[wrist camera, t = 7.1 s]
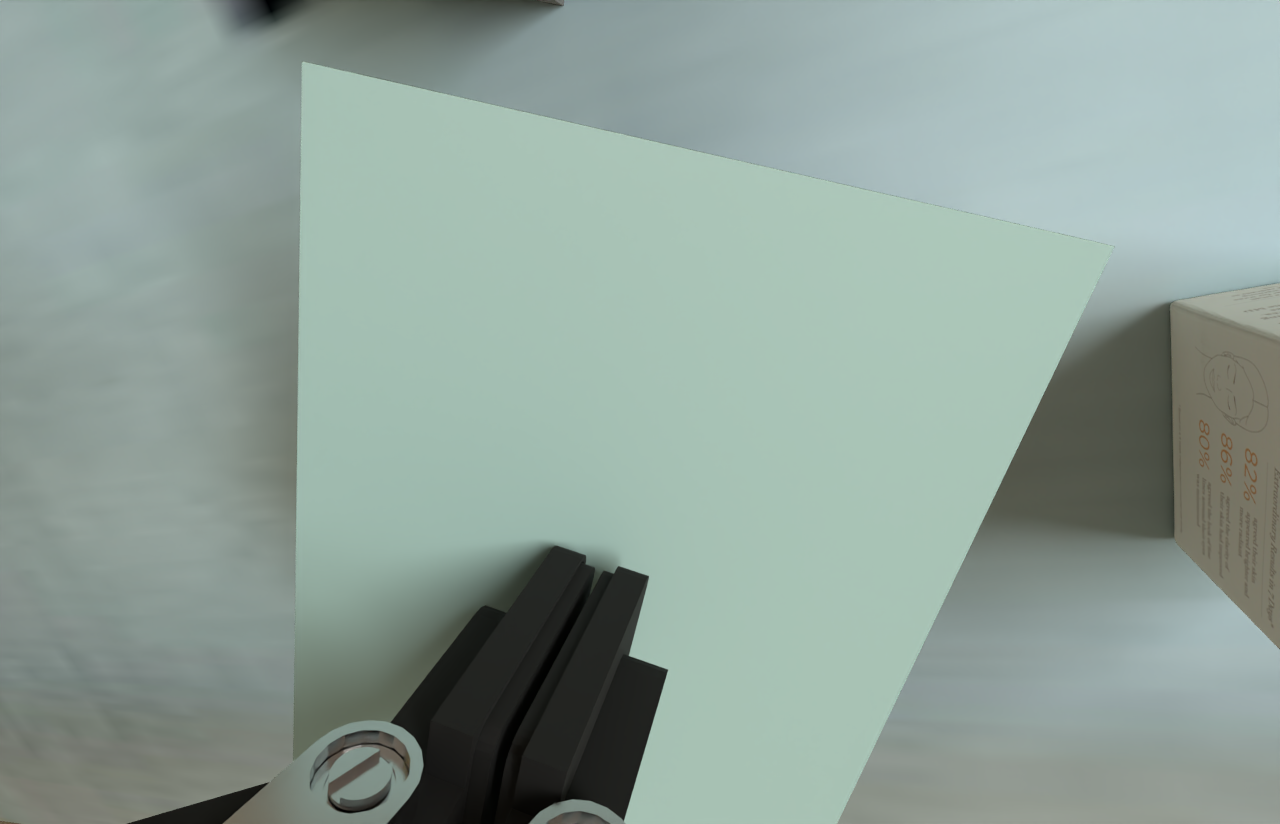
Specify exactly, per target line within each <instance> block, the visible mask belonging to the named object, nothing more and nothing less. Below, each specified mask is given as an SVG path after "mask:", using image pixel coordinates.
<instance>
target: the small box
mask: <svg viewBox="0 0 1280 824" xmlns="http://www.w3.org/2000/svg"><path fill="white" fill-rule="evenodd" d="M1170 319H1171V359H1172V410H1173V468H1174V521H1175V531H1174V537H1175V541H1176V543H1177V544H1178V545H1179V547H1180V548H1181V549H1182V550H1183V551H1184V552H1185V553H1186V554H1187V555H1188V556H1189V557H1190V558H1191V559H1192V560H1193V561H1194V562H1195V563H1196V564H1197V565H1198V566H1199V567H1200V568H1201V569H1202V570H1203V571H1204V572H1205V573H1206V574H1207V575H1208V577H1209V578H1210V579H1211V580H1212V581H1213V582H1214V583H1215V584H1216V585H1217V586H1218V587H1219V588H1220V589H1221V590H1222V591H1223V592H1224V593H1225V594H1226V595H1227V596H1228V597H1229V598H1230V599H1231V600H1232V601H1233V602H1234V603H1235V604H1236V605H1237V606H1238V607H1239V608H1240V609H1241V610H1242V611H1243V612H1244V613H1245V614H1246V615H1247V616H1248V617H1249V618H1250V619H1251V621H1252V622H1253V623H1254V624H1255V625H1256V626H1257V627H1258V628H1259V629H1260V630H1261V631H1262V632H1263V633H1264V634H1265V635H1266V636H1267V637H1268V638H1269V639H1270V640H1271V641H1272V642H1273V643H1274V644H1275V645H1276V646H1277V647H1278V648H1279V649H1280V283H1278V284H1272V285H1266V286H1260V287H1253V288H1247V289H1241V290H1235V291H1229V292H1223V293H1217V294H1211V295H1205V296H1200V297H1194V298H1189V299H1182V300H1177V301H1174V302H1172V303H1171V305H1170Z"/></svg>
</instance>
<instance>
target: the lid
mask: <svg viewBox="0 0 1280 824" xmlns="http://www.w3.org/2000/svg"><path fill="white" fill-rule="evenodd" d="M1114 247H1115V246H1111V245H1107V244H1102V243H1098V242H1094V241H1090V240H1085V239H1081V238H1077V237H1073V236H1068V235H1064V234H1059V233H1055V232H1051V231H1046V230H1042V229H1037V228H1033V227H1029V226H1024V225H1020V224H1016V223H1011V222H1007V221H1002V220H998V219H994V218H989V217H985V216H980V215H976V214H972V213H967V212H963V211H958V210H954V209H950V208H945V207H941V206H936V205H932V204H928V203H923V202H919V201H915V200H910V199H906V198H901V197H897V196H893V195H888V194H884V193H879V192H875V191H871V190H866V189H862V188H857V187H853V186H849V185H844V184H840V183H835V182H831V181H827V180H822V179H818V178H814V177H809V176H805V175H800V174H796V173H792V172H787V171H783V170H778V169H774V168H770V167H765V166H761V165H756V164H752V163H748V162H743V161H739V160H735V159H730V158H726V157H721V156H717V155H713V154H708V153H704V152H699V151H695V150H691V149H686V148H682V147H677V146H673V145H669V144H664V143H660V142H655V141H651V140H647V139H642V138H638V137H634V136H629V135H625V134H620V133H616V132H612V131H607V130H603V129H598V128H594V127H590V126H585V125H581V124H576V123H572V122H568V121H563V120H559V119H554V118H550V117H546V116H541V115H537V114H533V113H528V112H524V111H519V110H515V109H511V108H506V107H502V106H497V105H493V104H489V103H484V102H480V101H475V100H471V99H467V98H462V97H458V96H454V95H449V94H445V93H440V92H436V91H432V90H427V89H423V88H418V87H414V86H410V85H405V84H401V83H396V82H392V81H388V80H383V79H379V78H374V77H370V76H366V75H361V74H357V73H353V72H348V71H344V70H339V69H335V68H331V67H326V66H322V65H317V64H313V63H307V62H302V98H301V178H300V258H299V338H298V418H297V498H296V578H295V658H294V738H293V761H294V760H295V759H297V758H298V757H299V756H300V755H301V754H302V753H303V752H305V751H306V750H307V749H308V748H309V747H310V746H311V745H312V744H314V743H315V742H316V741H317V740H319V739H320V738H322V737H323V736H325V735H326V734H327V733H329V732H330V731H332V730H334V729H337V728H339V727H342V726H344V725H347V724H349V723H354V722H360V721H367V720H374V721H385V722H389V723H390V722H391V721H392V720H393V718H394V717H395V716H396V715H397V713H398V712H399V711H400V709H401V708H402V707H403V706H404V704H405V703H406V702H407V700H408V699H409V698H410V697H411V695H412V694H413V693H414V691H415V690H416V689H417V688H418V686H419V685H420V684H421V682H422V681H423V680H424V679H425V677H426V676H427V675H428V673H429V672H430V671H431V670H432V668H433V667H434V666H435V664H436V663H437V662H438V661H439V659H440V658H441V657H442V655H443V654H444V653H445V652H446V650H447V649H448V648H449V646H450V645H451V644H452V643H453V641H454V640H455V639H456V637H457V636H458V635H459V634H460V632H461V631H462V630H463V629H464V627H465V626H466V625H467V623H468V622H469V621H470V620H471V618H472V617H473V616H474V614H475V613H476V612H477V611H478V610H479V609H480V608H481V607H483V606H485V605H486V606H489V607H492V608H495V609H497V610H500V611H503V612H506V613H507V612H508V610H509V609H510V607H511V606H512V605H513V603H514V602H515V600H516V599H517V597H518V596H519V595H520V593H521V592H522V590H523V589H524V588H525V586H526V585H527V583H528V582H529V580H530V579H531V578H532V576H533V575H534V573H535V572H536V571H537V569H538V568H539V566H540V565H541V564H542V562H543V561H544V559H545V558H546V556H547V555H548V554H549V552H550V551H551V549H552V548H553V547H554V546H556V545H557V546H560V547H563V548H566V549H569V550H572V551H575V552H578V553H581V554H584V555H586V565H589V566H592V567H595V573H594V578H593V583H592V587H591V591H590V594H591V592H592V590H593V589H594V587H595V585H596V583H597V581H598V579H599V577H600V576H601V574H602V572H603V571H607V572H610V573H613V574H614V573H615V571H616V569H617V567H618V566H620V567H623V568H626V569H629V570H632V571H635V572H638V573H641V574H644V575H647V576H649V580H648V584H647V588H646V592H645V596H644V600H643V604H642V607H641V611H640V615H639V619H638V623H637V627H636V630H635V634H634V638H633V642H632V646H631V649H630V653H629V656H631V657H634V658H637V659H639V660H642V661H645V662H648V663H651V664H654V665H656V666H659V667H662V668H665V669H668V673H667V676H666V680H665V683H664V686H663V690H662V693H661V697H660V700H659V703H658V707H657V710H656V714H655V717H654V720H653V724H652V727H651V731H650V734H649V737H648V741H647V744H646V748H645V751H644V755H643V758H642V761H641V765H640V768H639V772H638V775H637V778H636V782H635V785H634V789H633V792H632V795H631V799H630V802H629V806H628V809H627V813H626V816H625V819H624V822H625V824H837V822H838V820H839V818H840V816H841V814H842V812H843V810H844V808H845V806H846V804H847V802H848V800H849V798H850V795H851V793H852V791H853V789H854V787H855V785H856V783H857V781H858V779H859V777H860V775H861V773H862V771H863V768H864V766H865V764H866V762H867V760H868V758H869V756H870V754H871V752H872V750H873V748H874V746H875V743H876V741H877V739H878V737H879V735H880V733H881V731H882V729H883V727H884V725H885V723H886V721H887V719H888V716H889V714H890V712H891V710H892V708H893V706H894V704H895V702H896V700H897V698H898V696H899V694H900V692H901V689H902V687H903V685H904V683H905V681H906V679H907V677H908V675H909V673H910V671H911V669H912V667H913V664H914V662H915V660H916V658H917V656H918V654H919V652H920V650H921V648H922V646H923V644H924V642H925V640H926V637H927V635H928V633H929V631H930V629H931V627H932V625H933V623H934V621H935V619H936V617H937V615H938V613H939V610H940V608H941V606H942V604H943V602H944V600H945V598H946V596H947V594H948V592H949V590H950V588H951V586H952V583H953V581H954V579H955V577H956V575H957V573H958V571H959V569H960V567H961V565H962V563H963V561H964V558H965V556H966V554H967V552H968V550H969V548H970V546H971V544H972V542H973V540H974V538H975V536H976V534H977V531H978V529H979V527H980V525H981V523H982V521H983V519H984V517H985V515H986V513H987V511H988V509H989V507H990V504H991V502H992V500H993V498H994V496H995V494H996V492H997V490H998V488H999V486H1000V484H1001V482H1002V480H1003V477H1004V475H1005V473H1006V471H1007V469H1008V467H1009V465H1010V463H1011V461H1012V459H1013V457H1014V455H1015V452H1016V450H1017V448H1018V446H1019V444H1020V442H1021V440H1022V438H1023V436H1024V434H1025V432H1026V430H1027V428H1028V425H1029V423H1030V421H1031V419H1032V417H1033V415H1034V413H1035V411H1036V409H1037V407H1038V405H1039V403H1040V401H1041V398H1042V396H1043V394H1044V392H1045V390H1046V388H1047V386H1048V384H1049V382H1050V380H1051V378H1052V376H1053V373H1054V371H1055V369H1056V367H1057V365H1058V363H1059V361H1060V359H1061V357H1062V355H1063V353H1064V351H1065V349H1066V346H1067V344H1068V342H1069V340H1070V338H1071V336H1072V334H1073V332H1074V330H1075V328H1076V326H1077V324H1078V322H1079V319H1080V317H1081V315H1082V313H1083V311H1084V309H1085V307H1086V305H1087V303H1088V301H1089V299H1090V297H1091V295H1092V292H1093V290H1094V288H1095V286H1096V284H1097V282H1098V280H1099V278H1100V276H1101V274H1102V272H1103V270H1104V267H1105V265H1106V263H1107V261H1108V259H1109V257H1110V255H1111V253H1112V251H1113V249H1114Z"/></svg>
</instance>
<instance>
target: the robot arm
mask: <svg viewBox="0 0 1280 824" xmlns="http://www.w3.org/2000/svg"><path fill="white" fill-rule="evenodd" d="M594 573H595V567H592V566H589V565H586V555H584V554H581V553H578V552H575V551H572V550H569V549H566V548H563V547H560V546H557V545H556V546H554V547H553V548H552V549H551V551H550V552H549V554H548V555H547V556H546V558H545V559H544V561H543V562H542V564H541V565H540V566H539V568H538V569H537V571H536V572H535V573H534V575H533V576H532V578H531V579H530V580H529V582H528V583H527V585H526V586H525V588H524V589H523V590H522V592H521V593H520V595H519V596H518V597H517V599H516V600H515V602H514V603H513V605H512V606H511V607H510V609H509V610H508V612H507V613H506V612H503V611H500V610H497V609H495V608H492V607H489V606H486V605H485V606H483V607H481V608H480V609H479V610H478V611H477V612H476V613H475V614H474V616H473V617H472V618H471V620H470V621H469V622H468V623H467V625H466V626H465V627H464V629H463V630H462V631H461V632H460V634H459V635H458V636H457V637H456V639H455V640H454V641H453V643H452V644H451V645H450V646H449V648H448V649H447V650H446V652H445V653H444V654H443V655H442V657H441V658H440V659H439V661H438V662H437V663H436V664H435V666H434V667H433V668H432V670H431V671H430V672H429V673H428V675H427V676H426V677H425V679H424V680H423V681H422V682H421V684H420V685H419V686H418V688H417V689H416V690H415V691H414V693H413V694H412V695H411V697H410V698H409V699H408V700H407V702H406V703H405V704H404V706H403V707H402V708H401V709H400V711H399V712H398V713H397V715H396V716H395V717H394V718H393V720H392V721H391V722H390V723H389V722H385V721H374V720H367V721H360V722H354V723H349V724H347V725H344V726H342V727H339V728H337V729H334V730H332V731H330V732H329V733H327V734H326V735H325V736H323V737H322V738H320V739H319V740H317V741H316V742H315V743H314V744H312V745H311V746H310V747H309V748H308V749H307V750H306V751H305V752H303V753H302V754H301V755H300V756H299V757H298V758H297V759H295V760H294V761H293V762H292V763H291V764H290V765H289V766H288V767H286V768H285V769H284V770H283V771H282V772H281V773H280V774H278V775H277V776H276V777H275V778H274V779H273V780H272V781H271V782H269V783H265V784H262V785H258V786H255V787H251V788H248V789H245V790H241V791H238V792H234V793H231V794H227V795H224V796H221V797H217V798H214V799H210V800H207V801H203V802H200V803H197V804H193V805H190V806H186V807H183V808H179V809H176V810H173V811H169V812H166V813H162V814H159V815H155V816H152V817H148V818H145V819H142V820H138V821H135V822H131V823H128V824H625V822H624V819H625V816H626V813H627V809H628V806H629V802H630V799H631V795H632V792H633V789H634V785H635V782H636V778H637V775H638V772H639V768H640V765H641V761H642V758H643V755H644V751H645V748H646V744H647V741H648V737H649V734H650V731H651V727H652V724H653V720H654V717H655V714H656V710H657V707H658V703H659V700H660V697H661V693H662V690H663V686H664V683H665V680H666V676H667V673H668V669H665V668H662V667H659V666H656V665H654V664H651V663H648V662H645V661H642V660H639V659H637V658H634V657H631V656H629V653H630V649H631V646H632V642H633V638H634V634H635V630H636V627H637V623H638V619H639V615H640V611H641V607H642V604H643V600H644V596H645V592H646V588H647V584H648V580H649V576H647V575H644V574H641V573H638V572H635V571H632V570H629V569H626V568H623V567H620V566H618V567H617V569H616V571H615V573H614V574H613V573H610V572H607V571H603V572H602V574H601V576H600V577H599V579H598V581H597V583H596V585H595V587H594V589H593V590H592V592H591V594H590V591H591V587H592V583H593V578H594ZM0 824H19V823H11V822H4V821H0Z"/></svg>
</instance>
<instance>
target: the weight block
mask: <svg viewBox="0 0 1280 824" xmlns="http://www.w3.org/2000/svg"><path fill="white" fill-rule="evenodd" d="M537 1H542V2H547V3H552V4H557V5H561V6H563V5H564V0H537Z"/></svg>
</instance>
